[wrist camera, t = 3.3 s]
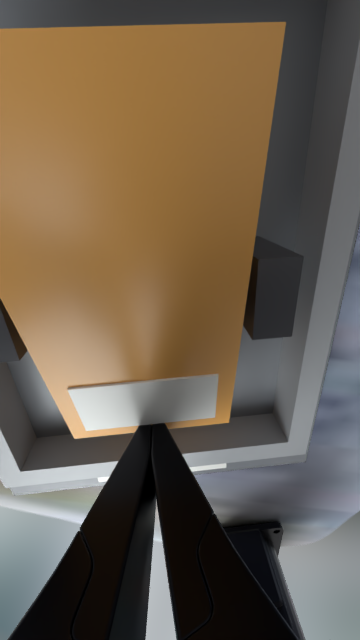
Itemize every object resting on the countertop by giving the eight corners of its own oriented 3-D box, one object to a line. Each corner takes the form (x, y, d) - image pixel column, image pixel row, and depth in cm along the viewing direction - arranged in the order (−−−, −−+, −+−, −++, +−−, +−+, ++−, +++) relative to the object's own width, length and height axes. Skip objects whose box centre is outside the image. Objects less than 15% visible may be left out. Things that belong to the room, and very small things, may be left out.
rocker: (220, 388, 10) (229, 424, 9) (82, 401, 10) (73, 440, 9) (252, 43, 4) (287, 21, 3) (-64, 52, 4) (-145, 32, 3)
